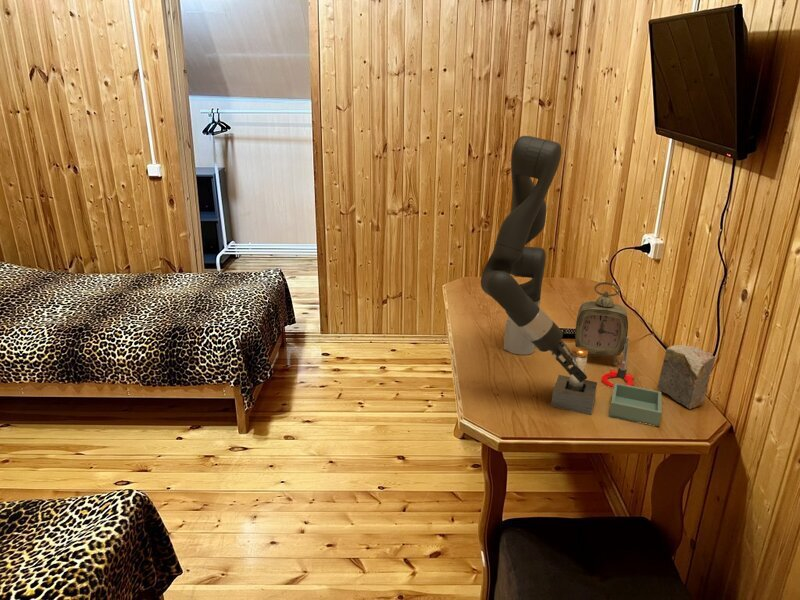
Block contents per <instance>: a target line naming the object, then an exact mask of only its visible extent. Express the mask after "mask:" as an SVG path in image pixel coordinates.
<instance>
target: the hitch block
mask: <svg viewBox="0 0 800 600" xmlns="http://www.w3.org/2000/svg"><path fill="white" fill-rule="evenodd" d="M569 378H570V376H568V375H562V374H558V375H557V379H556V382H555V385H554V387H553V390H552V396H551V403H550V407H553V408H558V409H563V410H566V411H571V412H576V413H580V414H585V415H589V416H592V412H593V408H594V403H595V398H596V393H597V386H598V382H597V381H593V380H592V381H591V380H589V379H588V380H587V379H585V380H584V382H583V389H582V392H579V391H574V390H569V389H568V385H569Z"/></svg>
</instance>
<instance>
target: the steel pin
mask: <svg viewBox="0 0 800 600" xmlns="http://www.w3.org/2000/svg"><path fill="white" fill-rule="evenodd" d="M572 349H573V350H572V355H573V357H574V362H575V363H576V364H577V365H578V367H579V368H580V369H581V370H582V371H583V373H584V374H585V375H586V368H587V361H588V354H589V353H588V350H587V349H585V348H582V347H576V346H575V347H574V348H572ZM572 366H573V365H570V368H571V367H572ZM569 377H570V378H569V385H568V389H569V390H574V391H579V392H582V389H583V382H584V381H583V382H579V381H578V380H577V378H576V377H575V376H574V375H573V374H572V375H570V374H569Z"/></svg>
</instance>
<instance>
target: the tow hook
mask: <svg viewBox="0 0 800 600" xmlns="http://www.w3.org/2000/svg"><path fill="white" fill-rule="evenodd" d="M629 339H630V337H629V336H627V337H626V341H625V343H624V349H623V351H622V356H621V360H620V364H619V368H617V370H613V369H610V370H609V372H608V373H605V374H603V375H602V376H601V382H603V383H604V384H605V385H604V386H606V385H607V386H606V387H608V386H610V387H613V388H614V383H612V382H610V381H609V379H612V378H620V377H621V379H623V380H624V381H625V382H626V383H625V384H624V385H629V386H634V379H635V375H631V374H628V373H627V372H628V369H627V365H628V361H627V358H628V351H629V345H630V343H629ZM617 376H618V377H617ZM603 383H602V384H603ZM610 387H609V388H610ZM613 388H612V389H613Z"/></svg>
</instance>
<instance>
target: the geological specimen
mask: <svg viewBox="0 0 800 600" xmlns="http://www.w3.org/2000/svg"><path fill="white" fill-rule="evenodd" d="M715 360H716V356H714V355H713V353H711V352H709V351H706V350H703V348H701V347H696V346H694V345H689V346H688V345H684V344H678V345H670V346H669V347H666V350H665V355H664V358H663V362H662V366H661V370H660V374H659V378H658V382H657V389H659V391H660V392H661V393H664V394H667V395H668V396H670V397H671V399H673V400H675V401H676V402H677V403H679V404H681V405H683V406H684V407H686V408H687V409H689V410H691V409H693V408H696V407H699V406H701V405H702V404H704V402H705V398H706V394H707V390H708V386H709V385H708V384H709V382H710V379H711V376H710V374H712V372H713V367H714V363H715Z"/></svg>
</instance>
